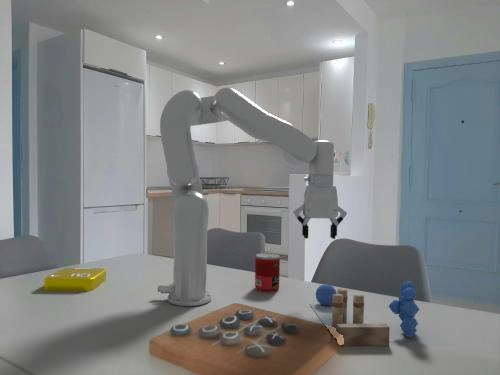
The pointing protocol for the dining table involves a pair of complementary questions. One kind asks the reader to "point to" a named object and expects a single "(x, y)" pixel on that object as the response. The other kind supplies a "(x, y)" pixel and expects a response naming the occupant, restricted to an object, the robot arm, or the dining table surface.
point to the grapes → (406, 308)
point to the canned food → (267, 272)
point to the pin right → (358, 309)
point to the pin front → (344, 303)
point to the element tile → (75, 279)
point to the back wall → (364, 334)
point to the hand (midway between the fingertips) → (319, 237)
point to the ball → (325, 294)
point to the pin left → (337, 310)
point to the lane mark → (328, 314)
